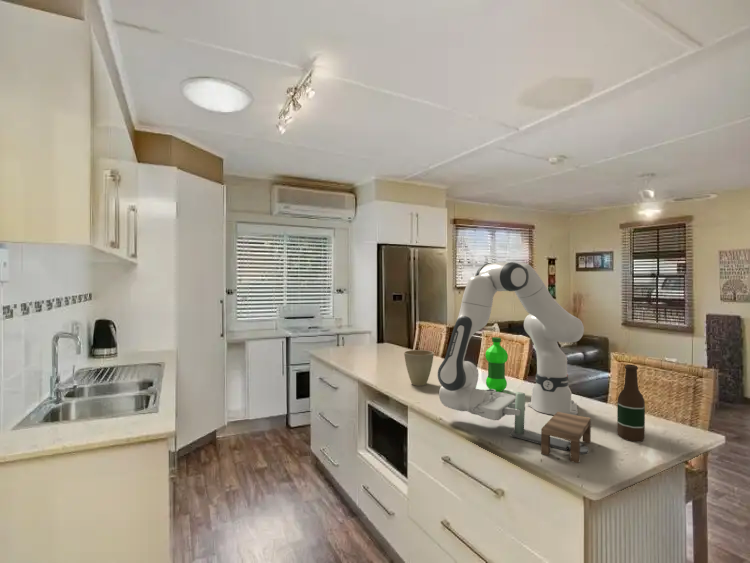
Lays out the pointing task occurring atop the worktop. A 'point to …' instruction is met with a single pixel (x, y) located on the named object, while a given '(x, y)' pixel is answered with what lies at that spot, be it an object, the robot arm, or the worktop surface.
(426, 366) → the plant pot
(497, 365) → the plastic bottle
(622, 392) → the beer bottle
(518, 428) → the cylinder
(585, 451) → the silver flat disc
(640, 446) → the worktop surface
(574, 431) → the bench
